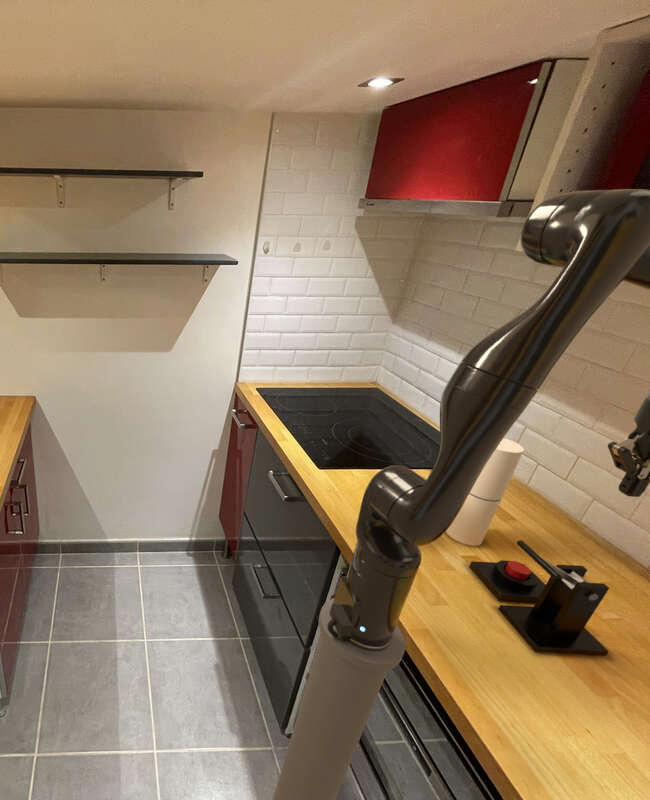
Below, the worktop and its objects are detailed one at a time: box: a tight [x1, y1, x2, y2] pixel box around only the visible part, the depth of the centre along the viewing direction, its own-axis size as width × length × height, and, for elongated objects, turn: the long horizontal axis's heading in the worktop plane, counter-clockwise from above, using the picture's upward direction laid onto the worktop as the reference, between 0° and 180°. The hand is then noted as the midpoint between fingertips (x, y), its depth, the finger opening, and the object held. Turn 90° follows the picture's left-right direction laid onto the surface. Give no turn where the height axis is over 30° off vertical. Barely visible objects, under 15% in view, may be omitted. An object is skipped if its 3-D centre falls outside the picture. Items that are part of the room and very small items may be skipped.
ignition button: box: [505, 560, 532, 580], centre depth 91 cm, size 4×4×2 cm
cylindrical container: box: [445, 437, 525, 547], centre depth 101 cm, size 7×7×25 cm
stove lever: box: [516, 539, 590, 590], centre depth 77 cm, size 12×8×2 cm
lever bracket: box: [498, 564, 610, 657], centre depth 79 cm, size 12×9×14 cm
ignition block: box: [468, 559, 547, 604], centre depth 92 cm, size 11×9×4 cm
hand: (628, 493), depth 76 cm, fingers closed
